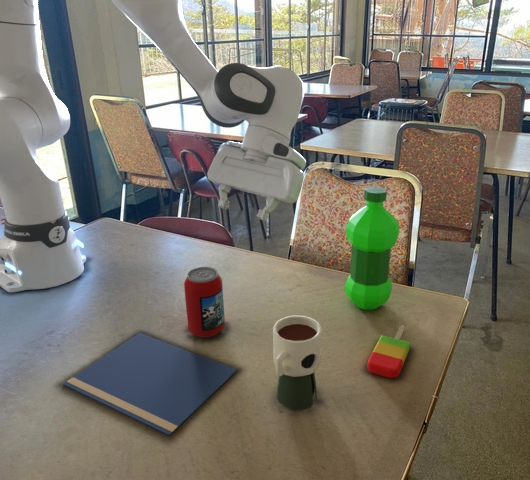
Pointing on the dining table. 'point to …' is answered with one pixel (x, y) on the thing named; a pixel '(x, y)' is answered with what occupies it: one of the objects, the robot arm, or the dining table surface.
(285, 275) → the dining table surface
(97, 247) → the dining table surface
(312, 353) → the character mug
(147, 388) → the blue book
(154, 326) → the dining table surface
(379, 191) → the plastic bottle
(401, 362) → the popsicle
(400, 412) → the dining table surface
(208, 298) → the beverage can
